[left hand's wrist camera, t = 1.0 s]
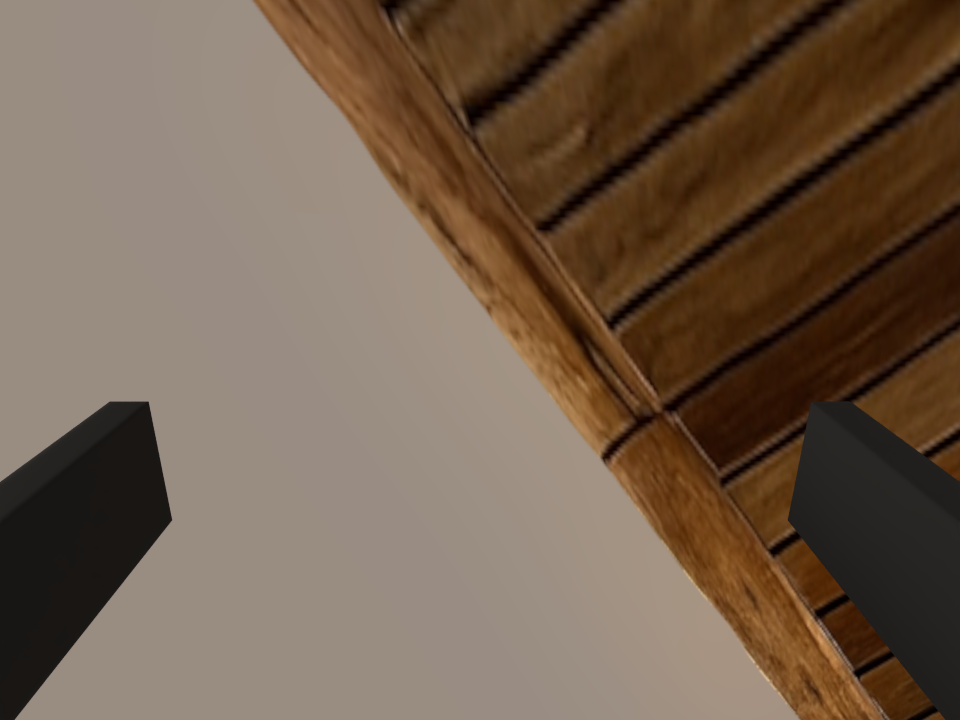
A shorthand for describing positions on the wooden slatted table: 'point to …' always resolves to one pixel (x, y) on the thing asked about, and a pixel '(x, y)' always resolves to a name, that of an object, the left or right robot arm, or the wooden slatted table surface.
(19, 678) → the left robot arm
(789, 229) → the wooden slatted table surface
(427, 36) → the wooden slatted table surface
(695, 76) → the wooden slatted table surface
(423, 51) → the wooden slatted table surface
